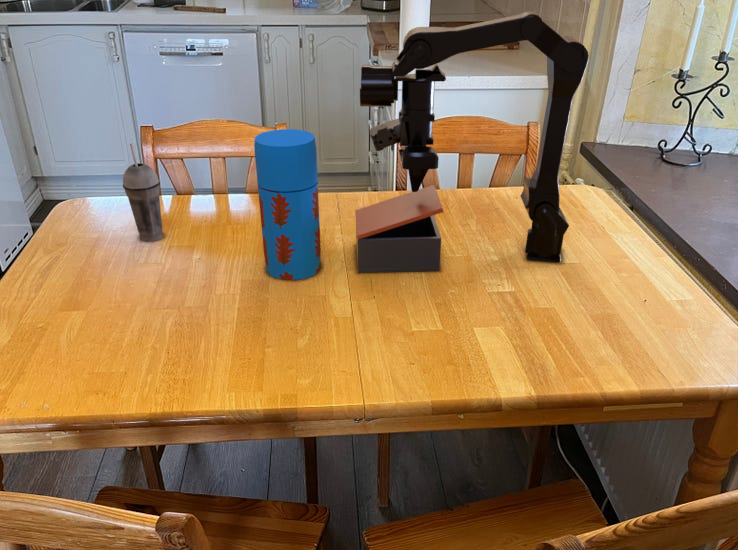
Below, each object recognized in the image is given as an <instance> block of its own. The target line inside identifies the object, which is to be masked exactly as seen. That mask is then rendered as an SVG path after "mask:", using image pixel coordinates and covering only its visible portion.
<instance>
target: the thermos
mask: <svg viewBox="0 0 738 550" xmlns="http://www.w3.org/2000/svg"><path fill="white" fill-rule="evenodd" d="M253 149H254V150H253V152H254V159H255V162H254V163H255V171H256V182H257V192H258V193H257V194H258V204H259V211H260V212H259V213H260V214H259V215H260V225H261V234H262V245H263V247H262V248H263V257H264V262H265V269H266V273H267V274H268V275H269V276H270V277H273V278H275V279H278V280H283V281H299V280H305V279H307V278H312V277H313V276H315V275H316V274H318V273H319V272H320V269H321V260H322V258H321V256H322V254H321V253H322V249H321V248H322V246H321V245H322V244H321V226H320V203H319V202H320V201H319V182H318V181H319V180H318V179H319V178H318V156H317V155H318V154H317V144H316V138H315V135H314V134H313V133H311V132H310V131H307V130H302V129H293V128H291V129H289V128H287V129H286V128H282V129H272V130H268V131H263V132H261V133H259V134H257V135H255V137H254V147H253Z"/></svg>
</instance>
